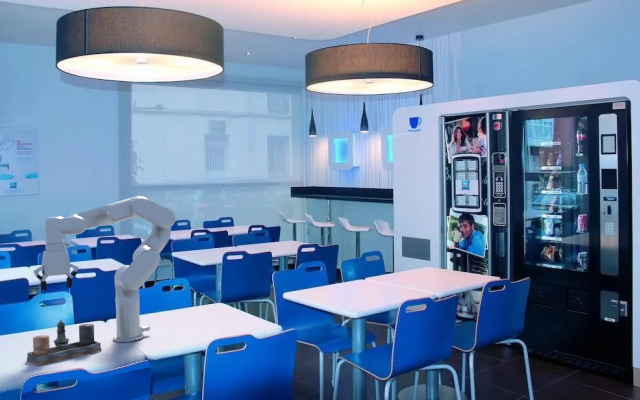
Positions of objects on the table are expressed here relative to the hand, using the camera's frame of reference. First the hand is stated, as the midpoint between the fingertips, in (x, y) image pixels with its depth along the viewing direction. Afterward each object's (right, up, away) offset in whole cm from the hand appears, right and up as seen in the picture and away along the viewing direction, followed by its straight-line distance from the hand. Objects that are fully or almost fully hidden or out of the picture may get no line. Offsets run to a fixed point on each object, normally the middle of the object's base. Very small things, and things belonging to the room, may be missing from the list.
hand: (56, 289), depth 246 cm
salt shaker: (+2, -25, 0) cm, 25 cm away
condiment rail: (+7, -25, -10) cm, 27 cm away
